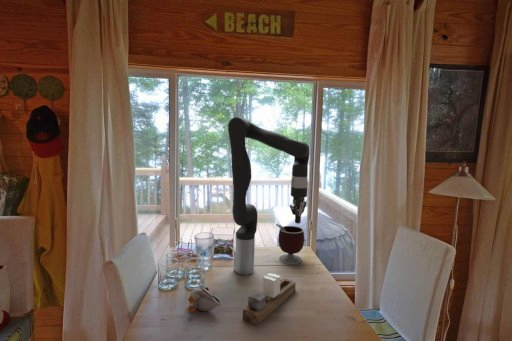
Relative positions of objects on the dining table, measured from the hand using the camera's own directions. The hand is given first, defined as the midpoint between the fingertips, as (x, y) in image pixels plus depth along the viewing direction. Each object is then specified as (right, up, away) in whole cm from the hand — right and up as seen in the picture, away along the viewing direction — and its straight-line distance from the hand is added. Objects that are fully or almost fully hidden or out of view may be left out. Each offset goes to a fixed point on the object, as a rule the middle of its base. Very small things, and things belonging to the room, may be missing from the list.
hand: (297, 223), depth 136 cm
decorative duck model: (-39, -29, -22) cm, 53 cm away
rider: (-13, -27, -19) cm, 35 cm away
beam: (-13, -29, -19) cm, 37 cm away
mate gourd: (-1, -25, +25) cm, 35 cm away
